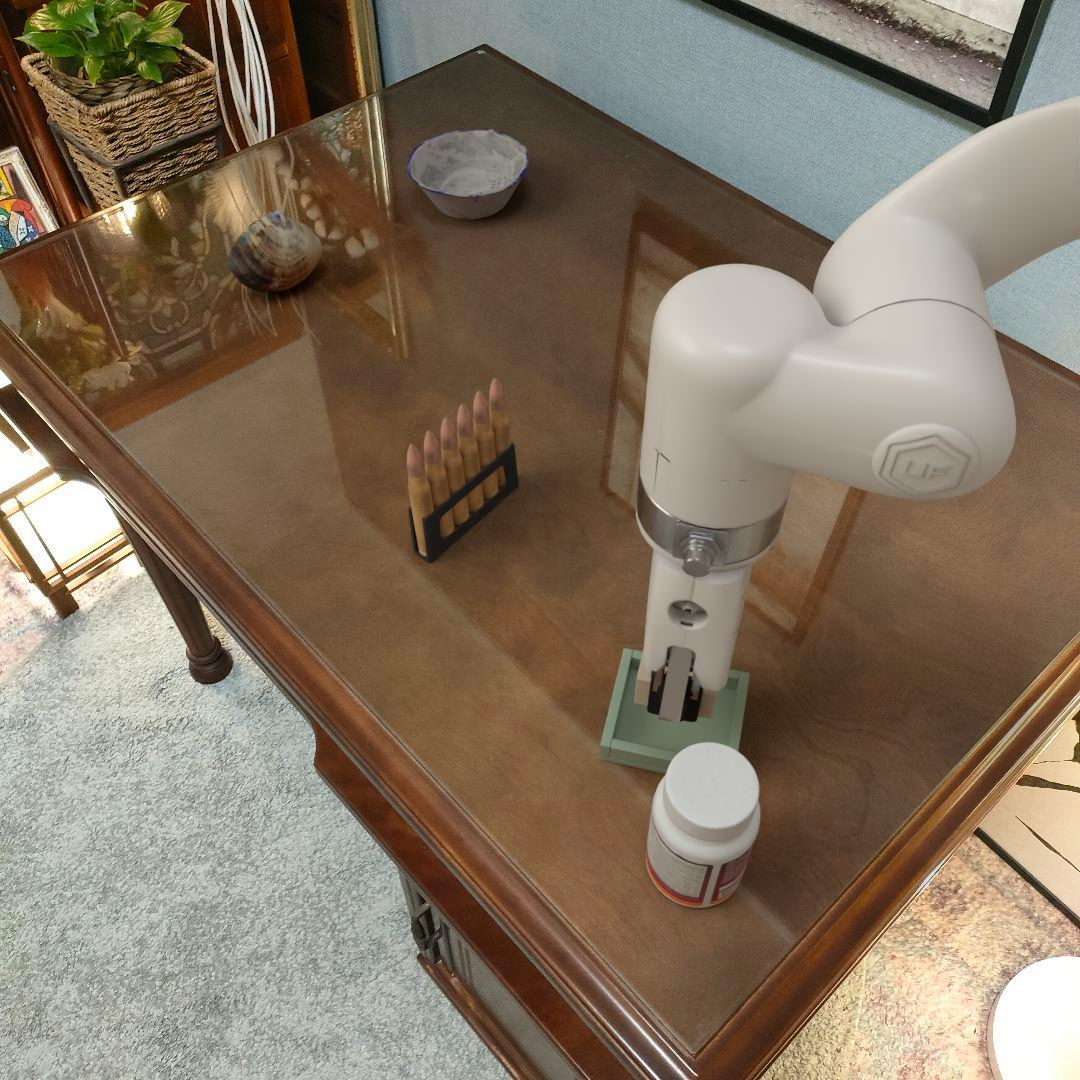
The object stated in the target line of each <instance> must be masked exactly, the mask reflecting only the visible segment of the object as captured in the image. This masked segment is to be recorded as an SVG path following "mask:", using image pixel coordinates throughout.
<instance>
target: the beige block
mask: <svg viewBox="0 0 1080 1080" xmlns="http://www.w3.org/2000/svg"><path fill="white" fill-rule="evenodd" d="M642 651H643V653H642V658H641V662H640V666H639V671H638V675H637V680H636V689H635V698H634V703H637V704H642V705H646V706H647V705H648V697H649V690H650V682H651V677H650V676H649V675H648V674H647V673H646V671H645V669H644V667H643V655H644V648H642ZM667 669H668V667H666V668H665V673H666V671H667ZM693 675H694V672H690V671H689V676H692V680H693ZM716 696H717V691H712V690H705V689H703V694H702V699H701V704H700V708H699V713H698V717H702V718H707V719H711V717H712V713H713V709H714V704H715V700H716Z"/></svg>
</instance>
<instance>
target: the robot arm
mask: <svg viewBox="0 0 1080 1080" xmlns="http://www.w3.org/2000/svg"><path fill="white" fill-rule="evenodd" d="M1078 240H1080V95H1076V96H1072V97H1069V98H1066V99H1062V100H1060V101H1055V102H1052V103H1049V104H1046V105H1043V106H1038V107H1036V108H1031V109H1029V110H1026V111H1024V112H1021V113H1018V114H1015V115H1012V116H1010V117H1008V118H1005V119H1004V120H1001V121H999V122H997V123H994V124H992V125H989V126H988V127H986V128H984V129H982V130H980V131H979V132H976V133H975V134H973V135H971V136H969V137H967V138H965V139H964V140H963V141H961V142H960V143H957V144H956V145H955V146H953V147H952V148H950V149H948V150H947V151H946V152H945V153H943V154H942V155H940V156H939V157H937V158H936V159H934V160H933V161H932V162H930V163H929V164H927V165H926V166H924V167H923V168H922V169H920V170H919V171H918V172H916V173H915V174H913V175H912V176H911V177H909V178H907V180H905V181H904V182H902V183H901V184H899V185H898V186H896V188H893V190H891V191H889V192H888V193H887V194H886V195H885V196H883V197H882V198H880V200H878V201H877V202H875V204H873V205H872V206H871V207H869V208H868V209H867V210H866V211H865V212H863V213H862V214H861V215H860V216H858V218H856V219H855V220H854V221H853V222H852V223H851V224H850V225H849V226H848V227H847V228H846V229H845V230H844V231H843V233H842V234H841V235H840V236H839V237H838V238H837V239H836V240H835V242H834V243H833V244H832V245H831V246H830V249H829V250H828V252H827V253H826V255H825V256H824V258H823V259H822V261H821V263H820V266H819V268H818V271H817V274H816V277H815V280H814V283H813V290H812V292H811V291H810V290H809V289H808V288H807V287H806V286H804V284H802V283H800V282H799V281H797V280H796V279H794V278H793V277H791V276H789V275H786V274H785V273H783V272H781V271H778V270H775V269H773V268H769V267H765V266H761V265H758V264H757V265H756V264H748V263H727V264H725V263H724V264H717V265H713V266H708V267H704V268H702V269H699V270H697V271H694V272H691V273H690V274H687V275H686V276H684V277H683V278H681V279H680V280H678V281H677V282H676V283H675V284H674V285H673V286H672V287H671V288H670V289H669V290H667V292H666V293H665V295H664V297H662V300H661V301H660V303H659V304H658V307H657V308H656V311H655V314H654V317H653V323H652V330H651V337H650V347H649V348H650V349H649V357H648V358H649V359H648V370H647V380H646V392H645V393H646V394H645V395H646V397H645V405H644V415H643V417H644V418H643V426H642V438H641V448H640V459H639V470H638V481H637V492H636V493H637V494H636V503H635V520H636V523H637V527H638V530H639V531H640V534H641V535H642V537H643V538H644V539H645V541H646V543H647V544H648V545H649V546H650V547H651V548H652V556H651V565H650V566H651V567H650V575H649V582H648V583H649V585H648V592H647V593H648V594H647V603H646V614H645V615H646V616H645V626H644V627H645V628H644V641H643V649H644V655H643V667H644V669H645V671H646V673H647V674H648V675H649V676H650V677H651V682H650V690H649V697H648V705H647V711H648V712H649V713H651V714H655V715H659V719H661V720H666V721H670V722H675V723H679V724H680V722H682V721H688V722H696V721H697V718H698V713H699V708H700V704H701V699H702V694H703V689H705V690H712V691H719V690H721V689H722V688H723V687H725V685H726V684H727V680H728V675H729V670H730V669H731V665H732V660H733V657H734V656H733V655H734V651H735V646H736V642H737V638H738V634H739V629H740V625H741V621H742V617H743V616H742V615H743V612H744V608H745V604H746V599H747V594H748V590H749V586H750V581H751V576H752V571H753V566H754V563H755V562H757V561H758V560H759V559H761V558H763V557H764V556H765V555H766V554H767V553H768V552H769V551H770V550H771V549H772V548H773V546H774V545H775V544H776V541H777V539H778V536H779V534H780V530H781V526H782V522H783V519H784V515H785V511H786V507H787V503H788V501H789V496H790V492H791V488H792V484H793V480H794V477H795V473H796V471H798V472H801V473H805V474H808V475H812V476H815V477H819V478H822V479H825V480H828V481H831V482H835V483H837V484H838V483H839V484H842V485H844V486H848V487H852V488H854V489H858V490H861V491H865V492H867V493H868V492H869V493H872V494H877V495H880V496H881V495H882V496H886V497H890V498H895V499H902V500H910V501H937V500H938V501H941V500H946V499H952V498H957V497H961V496H963V495H967V494H968V493H969V494H970V493H971V492H974V491H976V490H978V489H979V488H982V487H983V486H984V485H986V484H988V483H989V482H990V481H991V480H993V479H994V478H995V477H996V476H997V475H998V474H999V473H1000V472H1001V471H1002V469H1003V468H1004V466H1005V465H1006V463H1007V462H1008V460H1009V458H1010V455H1011V454H1012V451H1013V449H1014V445H1015V441H1016V435H1017V417H1016V410H1015V403H1014V399H1013V395H1012V391H1011V387H1010V383H1009V380H1008V375H1007V373H1006V369H1005V366H1004V361H1003V358H1002V355H1001V352H1000V347H999V345H998V339H997V334H996V330H995V326H994V323H993V320H992V316H991V312H990V308H989V305H988V300H987V297H986V293H985V291H986V290H988V289H989V288H991V287H993V286H994V285H995V284H998V283H999V282H1000V281H1002V280H1004V279H1006V278H1007V277H1009V276H1010V275H1012V274H1013V273H1016V271H1018V270H1020V269H1022V268H1023V267H1026V265H1028V264H1030V263H1032V262H1033V261H1035V260H1037V259H1039V258H1040V257H1043V256H1044V255H1046V254H1049V253H1050V252H1052V251H1054V250H1056V249H1058V248H1061V247H1063V246H1065V245H1068V244H1070V243H1073V242H1075V241H1078ZM666 667H668V669H667V671H666V673H665V668H666ZM689 671H690V672H694V675H693V680H692V676H689Z"/></svg>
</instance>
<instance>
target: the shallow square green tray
mask: <svg viewBox="0 0 1080 1080" xmlns="http://www.w3.org/2000/svg"><path fill="white" fill-rule="evenodd" d="M642 653H643V650H637V649H633V648H628V647H624V648H623V650H622V654H621V659H620V662H619V666H618V670H617V674H616V677H615V682H614V686H613V691H612V694H611V698H610V702H609V707H608V711H607V715H606V719H605V723H604V728H603V732H602V735H601V740H600V744H599V760H601V761H605V762H609V763H614V764H618V765H623V766H628V767H632V768H636V769H641V770H646V771H650V772H655V773H657V774H658V773H659V774H663V775H666V772H667V769H668V767H669V765H670V763H671V761H672V760H673V758H674V757H675V756H676V755H677V754H678V753H679V752H680V751H682V750H683V749H685V748H687V747H688V746H691V745H694V744H697V743H704V742H712V743H719V744H723V745H726V746H729V747H731V748H733V749H735V750H736V751H738V752H740V751H739V750H740V744H741V737H742V729H743V724H744V723H743V722H744V718H745V717H744V716H745V710H746V703H747V697H748V690H749V682H750V676H751V673H750V672H747V671H740V670H736V669H732V668H730V670H729V675H728V680H727V684H726V685H725V687H723V688H722V689H721V690H719V691H717V696H716V700H715V704H714V709H713V713H712V717H711V719H707V718H702V717H698V718H697V721H696V722H688V721H682V722H680V724H679V723H675V722H670V721H666V720H661V719H659V715H655V714H651V713H649V712H648V711H647V706H646V705H642V704H637V703H634V698H635V689H636V680H637V675H638V671H639V666H640V662H641V658H642Z"/></svg>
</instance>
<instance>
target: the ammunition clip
mask: <svg viewBox="0 0 1080 1080" xmlns="http://www.w3.org/2000/svg"><path fill="white" fill-rule="evenodd" d="M488 397H489V398H488V401H489V402H487V399H486V397H485V395H484V393H483V392H482V391H481V390H477V391H476V393H475V396H474V399H473V411H472V414H473V418H472V416H471V414H470V411H469V408H468V407H467V406H466V404H465V403H461V404H460V405H459V407H458V409H457V416H456V430H455V427H454V425H453V423H452V421H451V419H450V418H449V417H448V416H444V417H443V419H442V421H441V426H440V445H439V441H438V439H437V437H436V436H435V434H434V432H433V431H432V430H431V429H427V430H426V433H425V435H424V440H423V454H424V455H423V457H424V461H423V458H422V455H421V453H420V451H419V449H418V448H417V446H416V445H415V444H414V443H410V444H409V446H408V449H407V452H406V469H407V477H408V479H407V480H408V483H407V491H408V497H409V502H410V506H409V507H408V508H407V513H408V520H409V521H408V522H409V528H410V535H411V541H412V549H413V550H412V551H413V553H414V554H416V555H418V557H420V558H422V559H423V560H425V561H426V562H428V563H433V562H434V561H435V560H437V559H438V558H439V557H440V556H441V555H443V554H444V553H445V552H446V551H447V550H448V549H449V548H450V547H451V546H452V545H454V544H455V543H456V542H457V541H458V540H459V539H460V538H461V537H463V536H465V534H466V533H467V532H468V531H470V530H471V529H472V528H473V527H474V526H475V525H476V524H477V523H478V522H480V521H481V520H482V519H483V518H484V517H486V515H488V514H489V513H490V512H491V511H492V510H493V509H495V508H496V507H497V506H498V505H499V504H500V503H501V502H502V501H503V500H505V499H506V498H507V497H508V496H509V495H510V494H512V492H514V491H515V490H516V489H518V487H519V485H520V484H519V475H518V474H519V473H518V464H517V454H516V446H515V443H514V442H512V441H511V429H510V419H509V416H508V412H507V406H506V399H505V393H504V390H503V387H502V384H501V381H500V380H499V379H498V378H497V377H496V376H495V377H493V379H492V381H491V384H490V388H489V396H488ZM488 403H489V405H488ZM472 419H473V420H472ZM456 431H457V432H456Z"/></svg>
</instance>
